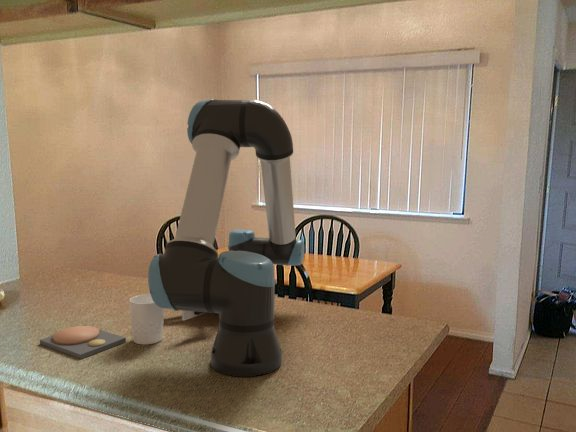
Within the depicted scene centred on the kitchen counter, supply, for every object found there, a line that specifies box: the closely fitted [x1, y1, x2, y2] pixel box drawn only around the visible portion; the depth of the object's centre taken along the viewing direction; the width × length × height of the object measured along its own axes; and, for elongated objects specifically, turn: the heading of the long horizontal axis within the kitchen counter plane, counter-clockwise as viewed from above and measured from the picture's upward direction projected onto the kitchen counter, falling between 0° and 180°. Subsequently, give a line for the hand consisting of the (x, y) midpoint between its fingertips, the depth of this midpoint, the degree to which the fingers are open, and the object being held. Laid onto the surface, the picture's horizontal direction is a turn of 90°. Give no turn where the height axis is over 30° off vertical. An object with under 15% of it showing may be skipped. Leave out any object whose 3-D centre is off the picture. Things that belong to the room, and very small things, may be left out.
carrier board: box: [39, 324, 127, 360], centre depth 119 cm, size 15×12×2 cm
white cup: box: [129, 293, 165, 346], centre depth 121 cm, size 8×8×10 cm
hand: (162, 309), depth 126 cm, fingers open, 13 cm apart
